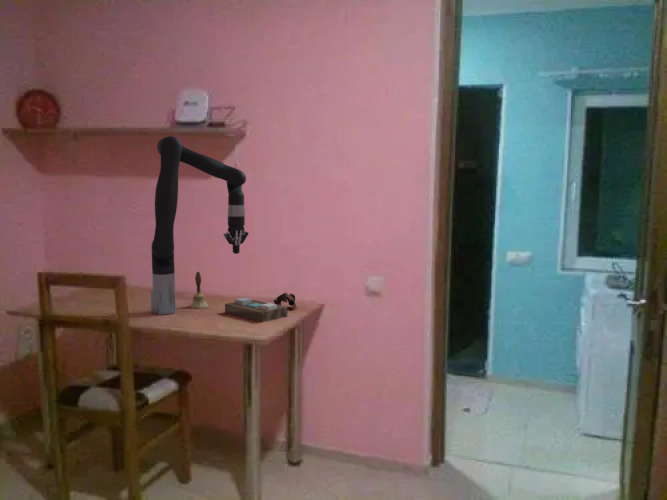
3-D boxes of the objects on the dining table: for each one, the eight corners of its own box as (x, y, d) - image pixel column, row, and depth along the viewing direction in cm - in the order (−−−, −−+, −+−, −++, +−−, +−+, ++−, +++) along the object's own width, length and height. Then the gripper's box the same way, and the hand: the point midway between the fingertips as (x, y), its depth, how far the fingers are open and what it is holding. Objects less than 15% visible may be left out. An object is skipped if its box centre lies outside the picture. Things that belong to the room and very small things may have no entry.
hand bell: (193, 309, 272) (192, 274, 270) (187, 306, 279) (186, 271, 277) (211, 307, 276) (210, 272, 274) (204, 304, 283) (204, 270, 281)
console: (263, 322, 251) (263, 312, 250) (225, 312, 266) (224, 303, 265) (287, 316, 261) (287, 307, 261) (249, 307, 276) (249, 299, 276)
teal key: (255, 311, 260) (255, 306, 259) (247, 309, 263) (247, 304, 263) (264, 309, 264) (264, 304, 263) (256, 308, 267) (256, 303, 266)
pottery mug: (292, 313, 269) (283, 297, 268) (277, 320, 274) (267, 304, 273) (304, 301, 280) (295, 286, 278) (288, 307, 284) (279, 292, 283)
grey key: (242, 306, 265) (242, 301, 264) (235, 304, 268) (235, 299, 268) (251, 304, 268) (251, 299, 268) (243, 302, 272) (243, 297, 271)
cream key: (268, 311, 254) (268, 306, 254) (260, 310, 258) (260, 304, 257) (277, 309, 258) (277, 304, 258) (268, 308, 261) (268, 303, 261)
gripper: (242, 214, 281) (242, 251, 283) (219, 215, 271) (219, 253, 273) (253, 215, 276) (252, 253, 278) (229, 216, 266) (229, 255, 268)
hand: (236, 253), depth 276 cm, fingers closed
